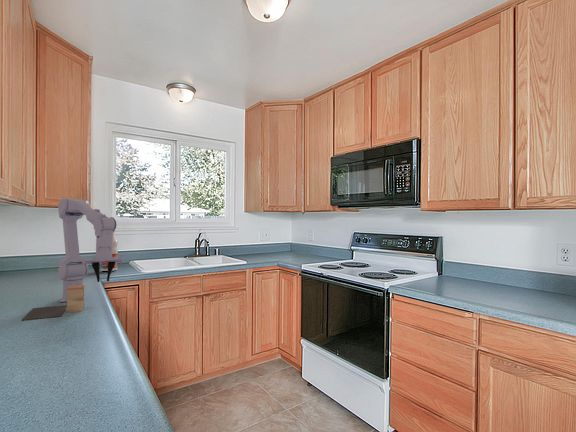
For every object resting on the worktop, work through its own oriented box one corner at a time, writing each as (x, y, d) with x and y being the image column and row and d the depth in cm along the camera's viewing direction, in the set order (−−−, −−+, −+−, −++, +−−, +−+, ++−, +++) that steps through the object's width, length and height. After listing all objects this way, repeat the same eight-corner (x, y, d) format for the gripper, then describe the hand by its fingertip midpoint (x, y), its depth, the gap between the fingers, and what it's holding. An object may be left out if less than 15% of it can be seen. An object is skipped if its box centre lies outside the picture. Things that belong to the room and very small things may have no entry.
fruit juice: (120, 270, 215) (121, 230, 216) (108, 272, 206) (109, 230, 207) (110, 269, 219) (111, 229, 219) (97, 271, 210) (99, 229, 210)
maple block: (68, 309, 122) (69, 285, 122) (83, 307, 125) (84, 284, 125) (66, 312, 118) (67, 288, 118) (82, 310, 120) (83, 287, 120)
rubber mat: (32, 308, 121) (32, 308, 121) (67, 305, 126) (67, 305, 126) (21, 320, 107) (21, 319, 107) (60, 316, 112) (60, 315, 112)
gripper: (81, 248, 119) (80, 284, 119) (124, 247, 126) (123, 281, 126) (83, 247, 125) (82, 281, 125) (124, 246, 132) (123, 278, 132)
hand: (103, 281), depth 126 cm, fingers open, 3 cm apart
